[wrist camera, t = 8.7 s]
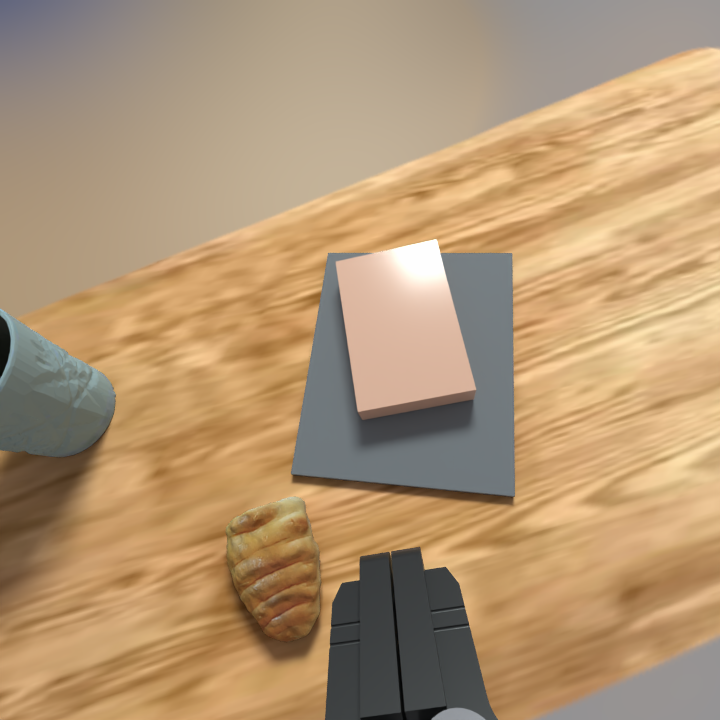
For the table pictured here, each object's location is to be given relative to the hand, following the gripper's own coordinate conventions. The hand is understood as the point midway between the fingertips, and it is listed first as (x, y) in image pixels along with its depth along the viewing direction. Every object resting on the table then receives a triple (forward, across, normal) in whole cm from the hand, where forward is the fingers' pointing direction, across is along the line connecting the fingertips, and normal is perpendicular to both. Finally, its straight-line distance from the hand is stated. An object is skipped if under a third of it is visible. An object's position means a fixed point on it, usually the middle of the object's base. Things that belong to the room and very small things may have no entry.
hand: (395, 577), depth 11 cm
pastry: (+18, +10, +16) cm, 26 cm away
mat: (+28, -2, +6) cm, 28 cm away
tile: (+23, -2, +8) cm, 24 cm away
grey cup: (+29, +29, +6) cm, 41 cm away
